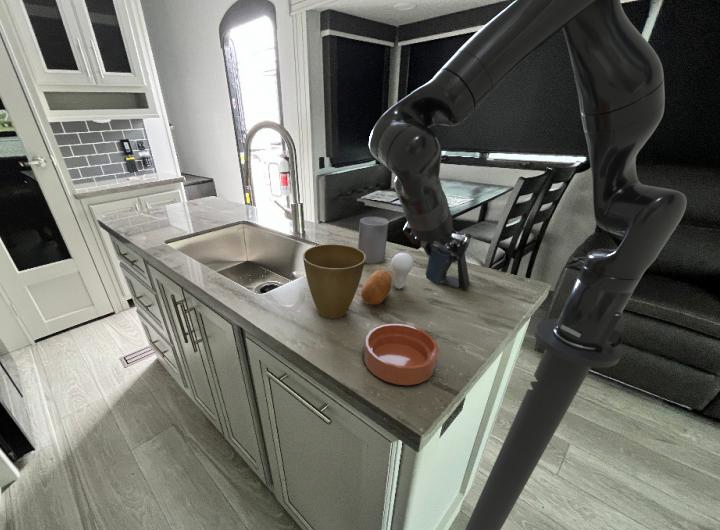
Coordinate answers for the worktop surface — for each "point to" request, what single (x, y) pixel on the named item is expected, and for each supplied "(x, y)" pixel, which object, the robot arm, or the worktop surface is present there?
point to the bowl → (400, 354)
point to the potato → (376, 287)
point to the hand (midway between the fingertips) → (442, 255)
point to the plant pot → (333, 277)
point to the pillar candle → (373, 238)
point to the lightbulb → (401, 268)
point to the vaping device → (437, 265)
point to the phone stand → (459, 275)
